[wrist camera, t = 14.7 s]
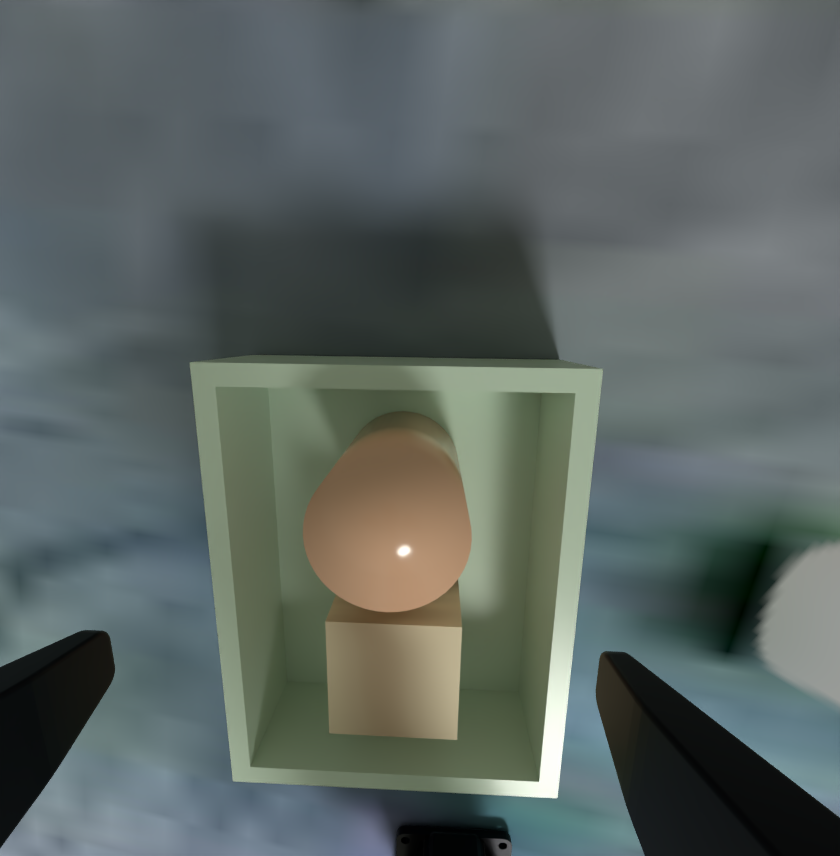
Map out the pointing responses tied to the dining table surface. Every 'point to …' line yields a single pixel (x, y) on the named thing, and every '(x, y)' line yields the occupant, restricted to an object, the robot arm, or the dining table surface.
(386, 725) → the maple cube
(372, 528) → the tan capsule
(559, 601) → the tote
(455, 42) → the dining table surface
